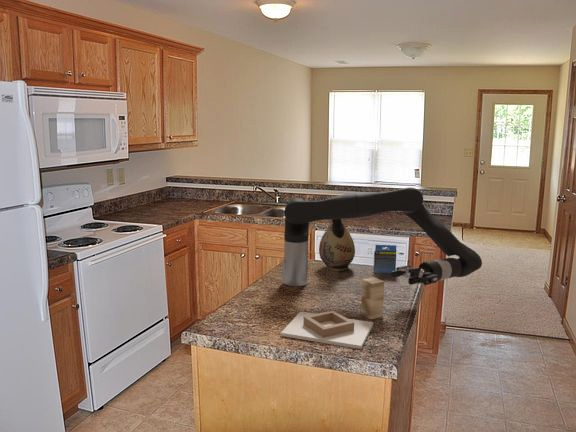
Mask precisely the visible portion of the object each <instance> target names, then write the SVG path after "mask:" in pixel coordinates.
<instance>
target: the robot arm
mask: <svg viewBox="0 0 576 432" xmlns="http://www.w3.org/2000/svg"><path fill="white" fill-rule="evenodd" d="M423 203H424V195H423V194H422V192H421V191H420V190H419V189H417V188H415V187H411V186H410V187H404V188H400V189H396V190H389V191H383V192H381V191H380V192H373V191H372V192H356V193H345V194H340V195H336V196H332V197H329V198H325V199H322V200H310V201H309V200H305V199H303V198H300V197H293V198H291V199H290V200H289V201H287V202H286V204H285V207H284V210H283V215H284V232H283V233H284V236H283V237H284V238H283V239H284V243H283V244H284V245H283V247H284V248H283V249H284V250H283V256H284V258H283V259H282V260H281V284H282V285H283V284H284V285H286V286H287V287H288V286H289V287H302V286H303V287H304V286H306V285H307V284H308V280H309V279H308V275H309V274H308V270H309V269H308V268H309V266H308V265H309V264H308V263H309V231H310V229H309V228H310V227H309V226H310V224H309V223H312V222H318V221H323V220H324V221H325V220H332V219H341V220H346V219H348V220H349V219H357V218H364V217H369V216H373V215H378V214H381V213H388V212H389V213H390V212H402V213H403V214H405V215H406V216H407V217H408V218H410V220H412V221H413V222H414V223H415V224H416V225H418V227H420V229H422V230H423V232H424V233H425V234H426V235H427V236H428V237H429V238H430V239H431V241H432V242H433V243H434V244H435V245H436V246H437V247H438V248H439V249H440V250H441V252H443V254H444V255H445V256H448V257H446V258H441V259H440V258H439V259H438V258H437V259H432V260H428V261H423V262H421V263H420V264H419V265H418V266H414V267H411V265H402V266H396V271H392V272H391V274H390V277H391V279H394V278H399V277H405V278H406V279H408V282H407V283H408V284H407V285H410V286H411V285H417V284H419V285H422V284H423V285H424V286H428V285H431V284H435V283H438V282H441V281H445V280H448V279H451V278H464V277H467V276H469V275H471V274H473V273H475V272H476V271H478V270H479V269H480V268H482V267H483V266H482V265H483V262H482V261H483V260H482V258H481V256H480V255H479V254H478V253H477V252H476V251H475V250H474V249H472V248H470V247H469V246H467V245H466V244H464V243H463V242H461V241H460V240H459V239H458V238H457V237H456V236H455V235H454V234H453V232H452V231H450V229H449V228H447V227H446V226H445V225H444V224H443V223H442V222H440V221H439V220H438V219H436V218H435V217H434V216H433V215H432V214H431V213H430V212H429V211H428V210H427V208H426V207H425V206H424V204H423ZM451 256H457V257H458V258H454V257H451Z"/></svg>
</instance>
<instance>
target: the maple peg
mask: <svg viewBox="0 0 576 432" xmlns="http://www.w3.org/2000/svg"><path fill="white" fill-rule="evenodd" d="M384 292H385V281H384V280H382V279H379V278H377V277H374V276H373V277H369V278H368V277H367V278H363V279H362V280H361V298H360V299H361V301H360V315H361V316H363V317H365V318H367V319H369V320H374V319H378V318H382V317H384V316H383V314H384V311H383V310H384Z"/></svg>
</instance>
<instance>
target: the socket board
mask: <svg viewBox="0 0 576 432" xmlns="http://www.w3.org/2000/svg"><path fill="white" fill-rule="evenodd" d="M373 326H374V322H373V321H368V320H367V321H366V320H360V319H353V318H348V317H345V316H344V315H342V314H340V313H339V312H337V311H335V310H329V311H328V310H327V311H324V312H320V313H312V312H305V311H299V313H297V314H296V316H295V317H294V318H292V320H291V321H290V322H289V323H288V324H287V325H286V326H285V327H284V329H283V330H282V331H281V332H280V336H281V337H285V338H286V337H287V338H291V339H292V338H293V339H299V340H304V341H311V342H314V343H315V342H316V343H323V344H329V345H334V346H340V347H345V348H351V349H359V350H362V348H363V347H364V344H365V342H366V341H367V338H369V334H370V332H371V331H372V329H373Z"/></svg>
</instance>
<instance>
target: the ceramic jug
mask: <svg viewBox="0 0 576 432" xmlns="http://www.w3.org/2000/svg"><path fill="white" fill-rule="evenodd" d="M318 254H319V258H320V259H321V261H322V262H323V263H324V265H325V266H326V269H327V270H330V271H334V272H340V271H346V270H348V269H349V266H350V264H352V262H353V260H354V258H355V255H356V248H355V242H354V240H353V237H352V235H351V233H350V232H349V230H348V229H347V228H346V225H345V224H344V223H343V222H342V219H331V221H330V224H329V225H328V226H327V228H326V230H325V231H324V233H323V234H322V237H321V238H320V242H319V246H318Z"/></svg>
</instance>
